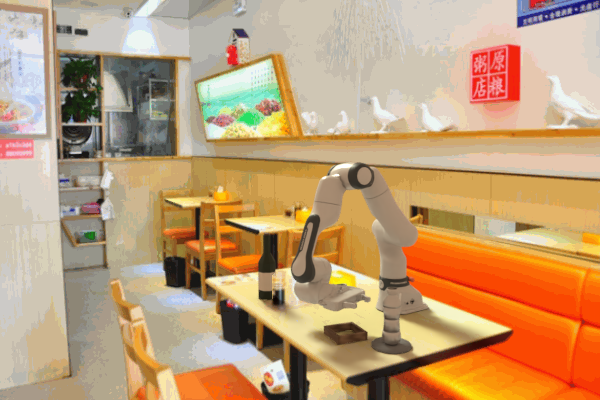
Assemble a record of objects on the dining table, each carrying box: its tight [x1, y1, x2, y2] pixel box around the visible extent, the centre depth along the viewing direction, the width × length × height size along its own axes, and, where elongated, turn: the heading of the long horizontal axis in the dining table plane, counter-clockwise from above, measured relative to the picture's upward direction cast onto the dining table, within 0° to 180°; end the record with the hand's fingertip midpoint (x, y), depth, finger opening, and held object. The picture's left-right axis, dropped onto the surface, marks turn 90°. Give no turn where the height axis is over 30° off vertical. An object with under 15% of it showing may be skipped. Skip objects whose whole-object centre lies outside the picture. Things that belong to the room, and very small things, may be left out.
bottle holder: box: [323, 321, 369, 346], centre depth 198 cm, size 12×12×3 cm
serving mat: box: [370, 336, 413, 355], centre depth 189 cm, size 14×14×1 cm
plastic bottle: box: [381, 287, 402, 345], centre depth 188 cm, size 6×7×20 cm
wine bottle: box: [257, 232, 276, 301], centre depth 245 cm, size 8×8×30 cm
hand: (363, 303), depth 195 cm, fingers open, 8 cm apart
